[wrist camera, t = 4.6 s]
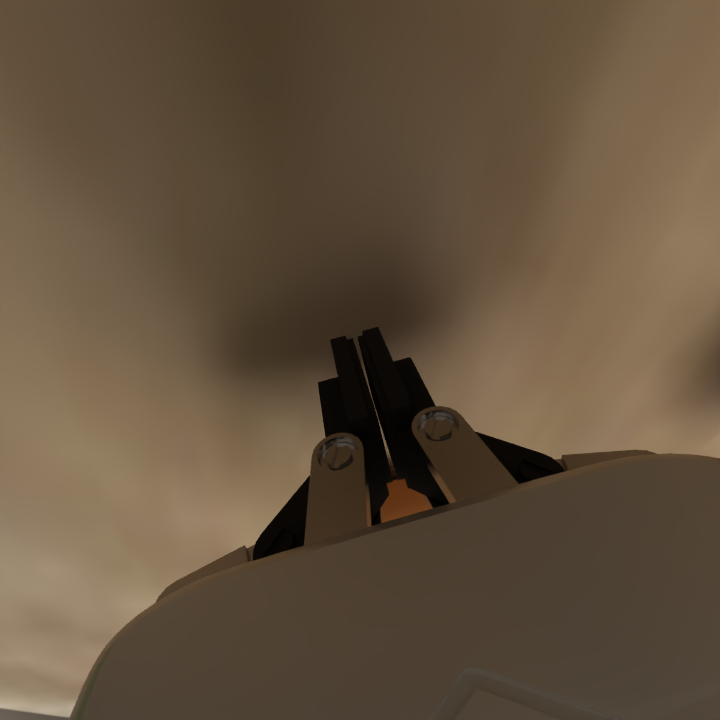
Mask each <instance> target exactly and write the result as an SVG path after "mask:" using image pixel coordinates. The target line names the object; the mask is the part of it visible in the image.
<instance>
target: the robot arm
mask: <svg viewBox="0 0 720 720" xmlns="http://www.w3.org/2000/svg"><path fill="white" fill-rule="evenodd" d="M330 341H331V346H332V350H333V355H334V360H335V364H336V369H337V373H338V377H336V378H332V379H328V380H325V381H321V382H318V387H319V394H320V401H321V408H322V415H323V422H324V429H325V436H326V438H324V439H323V440H322V441H320V442H319V443H318V444H317V446H316V447H315V449H314V450H313V454H312V460H311V471H310V476H309V477H308V478H307V479H306V481H305V482H304V483H303V484H302V485H301V487H300V488H299V489H298V490H297V491H296V493H295V494H294V495H293V496H292V497H291V499H290V500H289V501H288V502H287V503H286V505H285V506H284V507H283V508H282V509H281V511H280V512H279V513H278V514H277V516H276V517H275V518H274V519H273V520H272V522H271V523H270V524H269V525H268V526H267V528H266V529H265V530H264V531H263V532H262V534H261V535H260V537H259V538H258V540H257V541H256V544H255V545H253V546H251V547H249V548H246V547H245V545H244V546H242V547H240V548H238V549H237V550H235V551H233V552H231V553H229V554H227V555H225V556H223V557H221V558H219V559H217V560H215V561H213V562H212V563H210V564H208V565H206V566H204V567H202V568H200V569H198V570H196V571H194V572H192V573H190V574H188V575H187V576H185V577H183V578H181V579H179V580H177V581H175V582H174V583H172V584H171V585H170V586H168V587H167V588H166V589H165V590H164V591H163V592H162V594H161V595H160V596H159V597H158V599H157V601H156V603H155V604H153V605H152V606H150V607H149V608H147V609H146V610H144V611H143V612H142V613H140V614H139V615H137V616H136V617H135V618H134V619H133V620H131V621H130V622H129V623H128V624H126V625H125V626H124V627H123V628H122V629H121V630H120V631H119V632H118V633H117V634H116V635H115V636H114V637H113V638H112V639H111V640H110V642H109V643H108V644H107V645H106V646H105V648H104V649H103V651H102V652H101V654H100V655H99V657H98V658H97V660H96V662H95V663H94V665H93V667H92V669H91V671H90V672H89V674H88V677H87V679H86V681H85V683H84V685H83V687H82V689H81V692H80V694H79V697H78V699H77V701H76V704H75V706H74V708H73V711H72V713H71V716H70V718H69V720H720V459H719V458H714V457H709V456H701V455H691V454H672V453H669V454H656V453H653V452H650V451H647V450H625V451H611V452H597V453H583V454H569V455H562V458H561V459H555V460H554V459H553V458H551V457H549V456H547V455H545V454H542V453H539V452H536V451H533V450H530V449H527V448H524V447H521V446H518V445H515V444H512V443H509V442H506V441H502V440H499V439H496V438H493V437H490V436H487V435H484V434H481V433H478V432H475V431H474V430H473V429H472V428H471V426H470V425H469V424H468V423H467V422H466V421H465V419H464V418H463V417H462V416H461V415H460V414H459V413H458V412H457V411H455V410H453V409H451V408H448V407H443V406H435V404H434V402H433V400H432V398H431V396H430V394H429V392H428V390H427V388H426V386H425V384H424V382H423V380H422V379H421V377H420V375H419V373H418V371H417V369H416V367H415V365H414V363H413V361H412V359H411V358H410V357H409V358H405V359H401V360H398V361H394V362H393V360H392V358H391V355H390V353H389V351H388V348H387V346H386V344H385V342H384V339H383V337H382V335H381V332H380V330H379V328H378V327H376V328H372V329H368V330H365V331H363V335H362V336H359V337H358V341H359V345H360V349H361V353H362V358H363V362H364V366H365V370H366V374H367V378H368V382H369V386H370V390H371V394H372V398H373V401H372V398H371V395H370V392H369V388H368V385H367V382H366V379H365V376H364V372H363V369H362V366H361V363H360V360H359V357H358V353H357V350H356V347H355V344H354V341H353V338H351V339H346V336H342V337H339V338H335V339H331V340H330ZM373 402H374V404H373ZM374 405H375V408H376V411H377V415H378V418H379V421H380V424H381V427H382V430H383V434H384V437H385V440H386V443H387V446H388V449H389V453H390V456H391V459H392V462H393V465H394V468H395V472H396V475H397V478H398V480H401V479H405V481H406V484H407V487H408V489H409V488H410V489H412V490H414V491H416V492H419V493H421V494H423V497H424V500H425V503H426V504H427V506H428V508H429V510H425V511H422V512H418V513H415V514H411V515H408V516H404V517H401V518H397V519H394V520H390V521H387V522H383V513H382V509H381V507H382V505H383V504H384V502H385V501H386V499H387V498H388V496H389V491H388V487H387V483H391V482H393V480H392V476H391V471H390V467H389V463H388V459H387V455H386V451H385V447H384V443H383V439H382V434H381V430H380V426H379V422H378V418H377V415H376V411H375V408H374Z"/></svg>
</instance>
